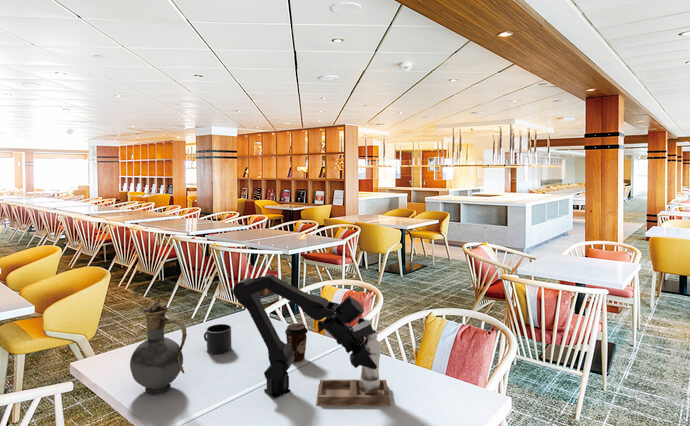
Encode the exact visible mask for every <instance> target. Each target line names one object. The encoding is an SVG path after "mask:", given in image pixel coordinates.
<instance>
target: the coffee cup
mask: <svg viewBox="0 0 690 426" xmlns="http://www.w3.org/2000/svg"><path fill="white" fill-rule="evenodd" d="M308 332H309V331H308V328H307V327H306V324H304V323H290V324H289V325H287V327H286V329H285V332H284V333H285V335H286V337H285V338H286V343H287V342H289V343H290V346H291V348H292V350H293V351H294V361H293V363H301V362H303V361H304V360H305V358H306V357H305V355H306V346H307V333H308Z"/></svg>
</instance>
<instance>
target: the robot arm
mask: <svg viewBox="0 0 690 426" xmlns="http://www.w3.org/2000/svg"><path fill="white" fill-rule="evenodd" d="M264 290H269V291H270V292H272V293H275V294H276V295H278V296H279V297H281V298H283V299H285V300H287V301H289V302H290V303H292V304H295V305H296V306H298V307H299V308H300V309H301V310H302V311H303V312H304V314H305V315H307V316H308V317H309V318H311V319H312V320H313V321H316V322H317V333H321V332H323V330H325V331H326V332H327V334H329V335H330V336H331V337H332V338H333V339H334V340H335V341H336V343H337V345H338V346H339V345H341V346H342V347H343V348H344V349H345V352H346V353H347V354H349V353H350V354H349V361H350V364H351V365H352V367H354V368H355V369H357V368H358V367H359V366H360V367H362V366H364V367H368V368H371V369H376V368H377V366H376V364H375V363H374V361H373V360H372V359H371V357H370V356H369V355H370V351H369V348H367V347H366V346H365V345H362V343H363V341H364V340H365V339H366V338H365V337H366V336H368V335H371V334H373V333H374V330H375V329H374V328H373V326H372V324H371V322H370V320H369V319H367V318H366V319H365V318H363V317H362V316H361V315H362V314H364V312H365V309H364V307H363V305H362V304H361V303H360V302H359V300H356V299H355V298H353V297H351V296H350V295H347V296H346V297H345V299H344V300H343V301H341V302H340V303H338V302H333V301H329V300H328V299H327V297H326V298H325V297H323V296H320V295H317V294H312V293H311V294H310V293H308V292H305V291H303V290H301V289H299V288H297V287H296V286H294V285H292V284H290V283H288V282H286V281H284V280H282V279H281V278H279V277H277V276H276V275H274V274H272V273H267V274H266V275H263V276H258V277H255V278H252V277H246V278H244V279H242V280H240V281H239V282H237V283H235V285H234V286H233V288H232V293H233V297H234V298H235V299H236V300H237V301H238V303H239V304H240V305H241V306H243V308H245V309H246V310H247V311H248V313H249V315H250V318H251V319H252V321H253V323H254V325H255V327H256V329H257V331H258V332H259V334H260V336H261V338H262V340H263V342H264V344H265V346H266V349H267V355H268V361H269V366H268V367H267V368H266V369H265V371H264V372H263V376H264V378H265V380H266V388H265V389H263V391H264V393H266V394H267V395H269V396H270V397H271V398H273V399H277V398H279V397H282V396H284V395H287V394H289V393H291V389H290V376H289V372H288V370H289V369H290V367H291V366H292V364H293V363H294V362H293V361H294V351H293V350H292V348H291V346H290V343H289V342H287V341H286V343H285V342H284V341H283V340H281V338H280V336H279V335H278V333H277V331H276V328H275V326H274V324H273V323H272V321H271V319H270V317H269V315H268V313H267V312H266V311H267V310H266V309H265V308H264V305H263V304H262V300H261V291H264ZM356 319H357V321H356V324H355V325H354V326H352V325H351V323H353V322H354V321H355V320H356Z"/></svg>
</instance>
